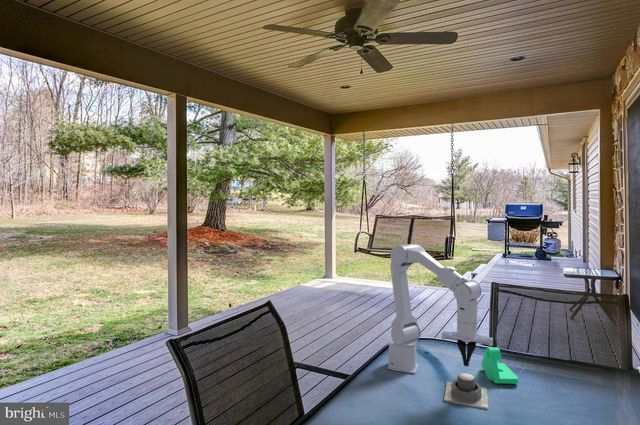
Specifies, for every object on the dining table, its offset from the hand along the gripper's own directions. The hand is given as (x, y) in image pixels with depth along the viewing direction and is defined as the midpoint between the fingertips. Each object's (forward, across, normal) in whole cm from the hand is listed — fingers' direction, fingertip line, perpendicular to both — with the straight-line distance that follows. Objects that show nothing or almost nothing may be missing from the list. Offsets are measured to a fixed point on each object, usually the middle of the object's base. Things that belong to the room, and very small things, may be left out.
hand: (466, 364), depth 118 cm
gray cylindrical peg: (+9, 0, 0) cm, 9 cm away
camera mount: (+10, +10, +17) cm, 22 cm away
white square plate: (+9, 0, 0) cm, 9 cm away
